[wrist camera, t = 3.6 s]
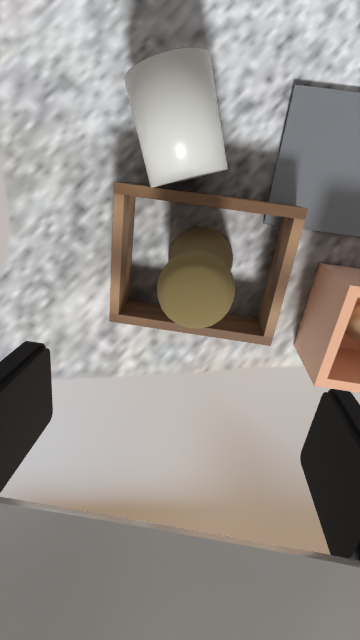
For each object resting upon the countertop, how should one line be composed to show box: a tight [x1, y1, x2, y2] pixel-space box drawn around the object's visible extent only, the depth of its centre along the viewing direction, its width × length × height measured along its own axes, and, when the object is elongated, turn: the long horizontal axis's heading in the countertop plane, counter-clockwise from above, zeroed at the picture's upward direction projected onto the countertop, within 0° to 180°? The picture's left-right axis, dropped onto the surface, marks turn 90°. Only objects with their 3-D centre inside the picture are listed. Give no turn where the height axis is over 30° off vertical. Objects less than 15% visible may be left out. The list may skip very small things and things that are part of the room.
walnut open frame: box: [109, 182, 308, 346], centre depth 28 cm, size 12×15×4 cm
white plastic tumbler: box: [124, 47, 228, 188], centre depth 23 cm, size 7×6×6 cm
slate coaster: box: [264, 85, 360, 237], centre depth 25 cm, size 10×10×1 cm
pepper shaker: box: [157, 227, 235, 329], centre depth 24 cm, size 6×6×11 cm
